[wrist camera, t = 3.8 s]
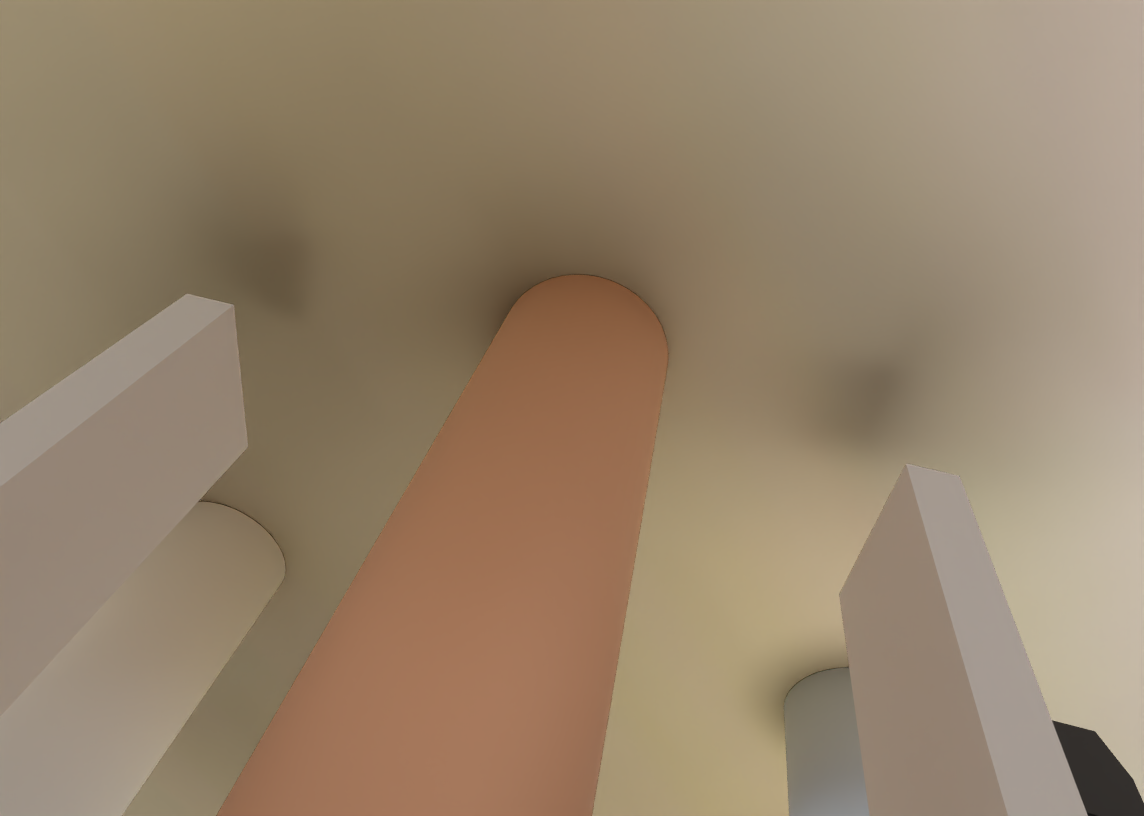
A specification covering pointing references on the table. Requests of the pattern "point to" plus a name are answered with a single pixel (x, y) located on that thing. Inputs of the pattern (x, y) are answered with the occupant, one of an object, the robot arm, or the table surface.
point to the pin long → (488, 588)
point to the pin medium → (137, 669)
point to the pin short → (824, 747)
